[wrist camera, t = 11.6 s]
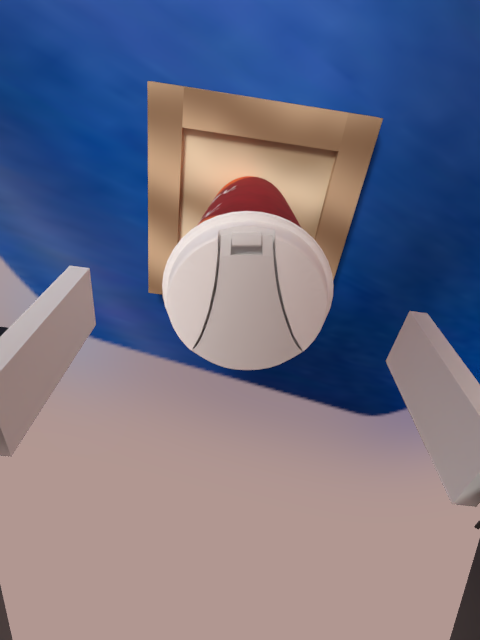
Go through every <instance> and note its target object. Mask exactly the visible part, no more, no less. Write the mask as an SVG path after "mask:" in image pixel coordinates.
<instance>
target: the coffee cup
mask: <svg viewBox="0 0 480 640" xmlns="http://www.w3.org/2000/svg"><path fill="white" fill-rule="evenodd" d="M162 291H163V299H164V303H165V308H166V310H167V313H168V315H169V318H170V321H171V323H172V325H173V328H174V330H175V332H176V333H177V335H178V336H179V338H180V339H181V340H182V342H183V343H184V344H185V345H186V346H187V347H188V348H189V349H190V350H192V349H193V350H192V351H193V352H194V353H196V354H198V355H199V356H201V357H203V358H204V359H206V360H208V361H210V362H212V363H214V364H216V365H219V366H222V367H225V368H230V369H237V370H258V369H265V368H270V367H273V366H276V365H279V364H281V363H283V362H285V361H287V360H289V359H291V358H293V357H295V356H296V355H298V354H300V353H302V351H304V350H306V349H307V348H308V347H309V345H310V344H311V343H312V342H313V341H314V340H315V338H316V337H317V335H318V334H319V332H320V330H321V328H322V326H323V323H324V321H325V319H326V317H327V315H328V312H329V310H330V307H331V303H332V298H333V278H332V272H331V268H330V265H329V262H328V260H327V258H326V256H325V254H324V252H323V250H322V248H321V247H320V246H319V245H318V243H317V242H316V241H315V240H314V238H313V237H311V236H310V235H309V234H308V233H307V232H306V231H305V230H304V229H302V228H301V226H300V224H299V222H298V221H297V219H296V217H295V215H294V213H293V212H292V210H291V208H290V206H289V205H288V203H287V201H286V200H285V198H284V197H283V195H282V194H281V192H280V191H279V190H278V189H277V188H276V187H275V186H274V185H273V184H272V183H270V182H269V181H267V180H265V179H262V178H259V177H254V176H246V177H240V178H237V179H235V180H233V181H231V182H229V183H228V184H226V185H225V186H224V187H223V188H222V189H221V190H220V191H219V193H218V194H217V195H216V197H215V198H214V200H213V201H212V203H211V204H210V206H209V207H208V209H207V210H206V212H205V213H204V215H203V217H202V218H201V220H200V221H199V223H198V225H197V226H196V227H194V228H193V229H191V230H190V231H189V232H188V233H187V234H186V235H185V236H184V237H183V238H181V240H180V241H179V242H178V244H177V245H176V246H175V248H174V249H173V251H172V253H171V255H170V256H169V258H168V260H167V263H166V266H165V270H164V273H163V282H162Z"/></svg>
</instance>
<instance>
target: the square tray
mask: <svg viewBox="0 0 480 640" xmlns="http://www.w3.org/2000/svg"><path fill="white" fill-rule="evenodd" d="M382 120H383V118H378V117H373V116H367V115H361V114H355V113H348V112H342V111H336V110H329V109H323V108H317V107H310V106H304V105H298V104H292V103H285V102H279V101H273V100H266V99H260V98H254V97H248V96H241V95H235V94H229V93H222V92H216V91H210V90H204V89H197V88H191V87H185V86H178V85H172V84H166V83H160V82H152V81H148V268H149V293H155V294H163V291H162V282H163V273H164V270H165V266H166V263H167V260H168V258H169V256H170V255H171V253H172V251H173V249H174V248H175V246H176V245H177V244H178V242H179V241H180V240H181V238H183V237H184V236H185V235H186V234H187V233H188V232H189V231H190V230H191V229H193V228H194V227H196V226H197V225H198V223H199V221H200V220H201V218H202V217H203V215H204V213H205V212H206V210H207V209H208V207H209V206H210V204H211V203H212V201H213V200H214V198H215V197H216V195H217V194H218V193H219V191H220V190H221V189H222V188H223V187H224V186H225V185H226V184H228V183H229V182H231V181H233V180H235V179H237V178H240V177H246V176H254V177H259V178H262V179H265V180H267V181H269V182H270V183H272V184H273V185H274V186H275V187H276V188H277V189H278V190H279V191H280V192H281V194H282V195H283V197H284V198H285V200H286V201H287V203H288V205H289V206H290V208H291V210H292V212H293V213H294V215H295V217H296V219H297V221H298V222H299V224H300V226H301V228H302V229H304V230H305V231H306V232H307V233H308V234H309V235H310V236H311V237H313V238H314V240H315V241H316V242H317V243H318V245H319V246H320V247H321V248H322V250H323V252H324V254H325V256H326V258H327V260H328V262H329V265H330V268H331V272H332V278H333V280H334V277H335V274H336V270H337V267H338V264H339V260H340V257H341V254H342V251H343V247H344V244H345V241H346V238H347V234H348V231H349V228H350V225H351V221H352V218H353V215H354V212H355V208H356V205H357V202H358V198H359V195H360V192H361V189H362V185H363V182H364V179H365V176H366V172H367V169H368V166H369V163H370V159H371V156H372V153H373V150H374V146H375V143H376V140H377V136H378V133H379V130H380V127H381V123H382Z"/></svg>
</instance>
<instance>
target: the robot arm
mask: <svg viewBox="0 0 480 640" xmlns="http://www.w3.org/2000/svg"><path fill="white" fill-rule="evenodd" d="M95 325H96V321H95V313H94V304H93V295H92V286H91V277H90V268H84V267H76V266H69V267H68V268H67V269H66V270H65V271H64V272H63V273H62V274H61V275H60V276H59V277H58V278H57V279H56V280H55V281H54V282H53V283H52V284H51V285H50V286H49V288H48V289H47V290H46V291H45V292H44V293H43V294H42V295H41V296H40V297H39V298H38V299H37V300H36V301H35V302H34V303H33V304H32V305H31V306H30V307H29V308H28V309H27V310H26V311H25V312H24V313H23V314H22V315H21V316H20V317H19V318H18V319H17V320H16V321H15V322H14V323H13V324H12V325H11V326H10V327H9V328H6V327H0V455H1V456H12V455H13V453H14V451H15V450H16V448H17V446H18V445H19V444H20V442H21V440H22V439H23V437H24V436H25V434H26V433H27V431H28V430H29V428H30V426H31V425H32V423H33V422H34V420H35V419H36V417H37V416H38V414H39V412H40V411H41V409H42V408H43V406H44V405H45V403H46V402H47V400H48V398H49V397H50V395H51V393H52V392H53V391H54V389H55V388H56V386H57V384H58V383H59V381H60V380H61V378H62V377H63V375H64V373H65V372H66V370H67V369H68V367H69V366H70V364H71V363H72V361H73V359H74V358H75V356H76V355H77V353H78V352H79V350H80V349H81V347H82V345H83V344H84V342H85V341H86V339H87V338H88V336H89V335H90V333H91V331H92V330H93V328H94V327H95ZM386 363H387V365H388V367H389V370H390V372H391V374H392V376H393V378H394V380H395V382H396V385H397V387H398V389H399V391H400V393H401V395H402V397H403V400H404V402H405V404H406V406H407V408H408V410H409V413H410V415H411V417H412V419H413V421H414V423H415V425H416V428H417V430H418V432H419V434H420V436H421V438H422V440H423V443H424V445H425V447H426V449H427V451H428V453H429V456H430V458H431V460H432V462H433V464H434V466H435V468H436V471H437V473H438V475H439V477H440V479H441V481H442V484H443V486H444V488H445V490H446V492H447V494H448V497H449V499H450V501H451V503H452V504H457V505H466V506H475V507H476V506H477V505H478V504H479V503H480V384H479V383H478V381H477V380H476V379H475V377H474V376H473V375H472V373H471V372H470V371H469V369H468V368H467V366H466V365H465V364H464V362H463V361H462V360H461V358H460V357H459V356H458V354H457V353H456V352H455V350H454V349H453V347H452V346H451V345H450V343H449V342H448V341H447V339H446V338H445V337H444V335H443V334H442V333H441V331H440V330H439V328H438V327H437V326H436V324H435V323H434V322H433V320H432V319H431V318H430V316H429V315H428V313H421V312H414V311H409V313H408V315H407V317H406V319H405V321H404V324H403V326H402V328H401V330H400V332H399V334H398V336H397V338H396V340H395V342H394V345H393V347H392V349H391V351H390V353H389V355H388V357H387V359H386ZM475 528H477V529H479V528H480V521H479V522H478V523H477V524H476V525H475ZM0 640H12V635H11V631H10V627H9V622H8V618H7V613H6V609H5V604H4V600H3V595H2V591H1V586H0ZM450 640H480V540H479V543H478V547H477V550H476V553H475V557H474V560H473V563H472V567H471V570H470V573H469V577H468V580H467V584H466V587H465V590H464V594H463V597H462V601H461V604H460V607H459V611H458V614H457V617H456V621H455V624H454V628H453V631H452V634H451V637H450Z"/></svg>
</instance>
